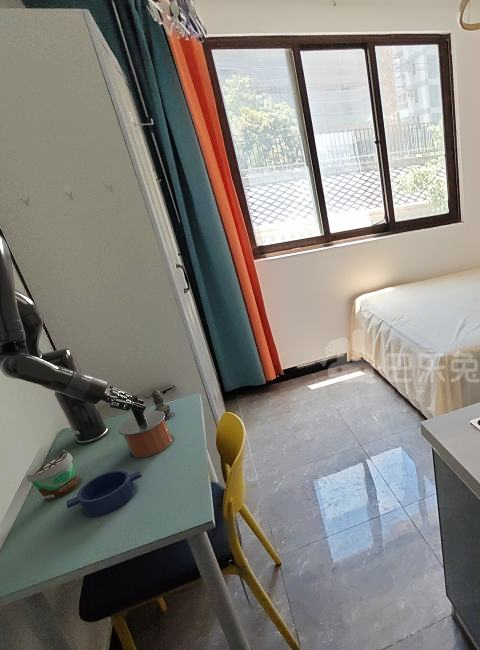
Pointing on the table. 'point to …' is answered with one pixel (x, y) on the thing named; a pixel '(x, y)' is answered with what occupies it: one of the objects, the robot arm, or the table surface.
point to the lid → (141, 421)
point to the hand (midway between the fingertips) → (143, 406)
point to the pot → (149, 441)
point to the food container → (55, 477)
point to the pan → (106, 492)
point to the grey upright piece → (161, 404)
